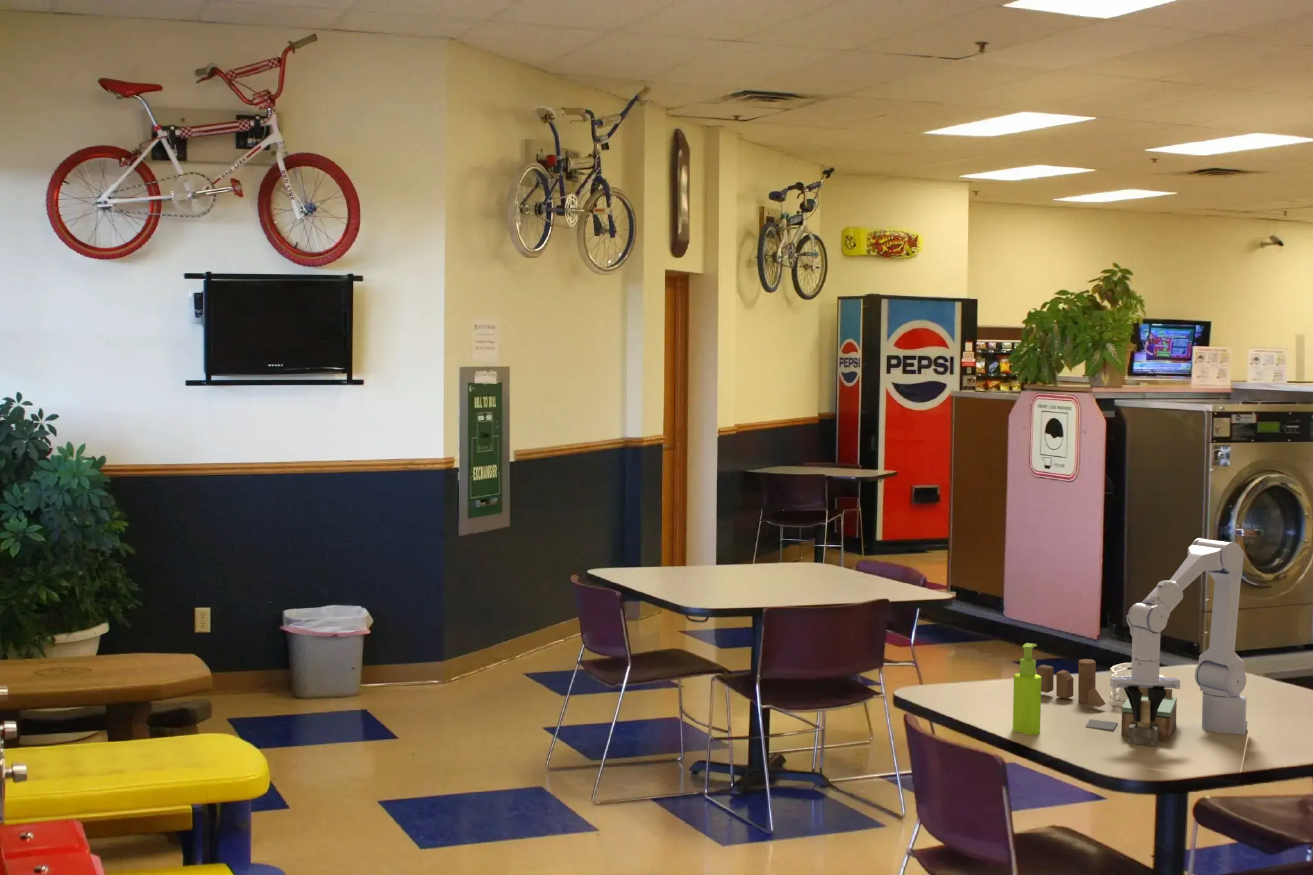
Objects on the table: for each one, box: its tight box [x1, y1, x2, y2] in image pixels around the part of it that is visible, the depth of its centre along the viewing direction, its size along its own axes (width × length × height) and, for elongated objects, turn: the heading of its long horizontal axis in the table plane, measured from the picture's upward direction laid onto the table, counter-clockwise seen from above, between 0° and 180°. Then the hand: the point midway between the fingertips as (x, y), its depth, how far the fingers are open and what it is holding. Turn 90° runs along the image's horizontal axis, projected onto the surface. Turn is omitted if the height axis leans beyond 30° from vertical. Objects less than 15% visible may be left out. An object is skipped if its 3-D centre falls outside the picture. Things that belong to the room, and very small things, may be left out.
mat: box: [1085, 719, 1118, 732], centre depth 301 cm, size 6×7×1 cm
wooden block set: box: [1036, 658, 1107, 708], centre depth 323 cm, size 18×9×10 cm, turn 43°
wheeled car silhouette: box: [1109, 662, 1165, 707], centre depth 327 cm, size 20×11×7 cm, turn 134°
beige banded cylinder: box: [1138, 699, 1151, 728], centre depth 288 cm, size 3×3×9 cm
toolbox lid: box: [1121, 688, 1178, 717], centre depth 298 cm, size 10×16×3 cm, turn 154°
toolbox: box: [1120, 702, 1178, 747], centre depth 296 cm, size 10×22×5 cm, turn 154°
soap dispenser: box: [1012, 642, 1042, 736], centre depth 294 cm, size 6×7×20 cm
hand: (1144, 720), depth 288 cm, fingers closed on beige banded cylinder, 3 cm apart
